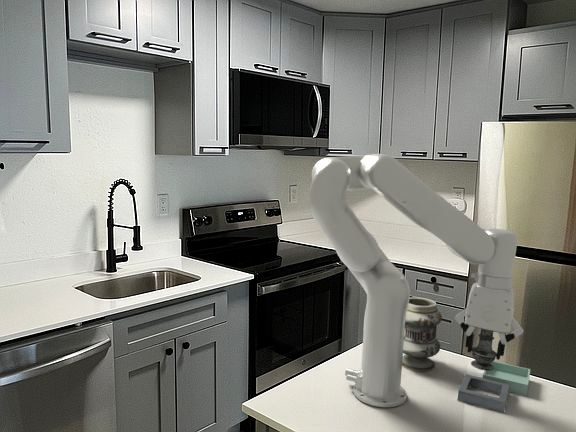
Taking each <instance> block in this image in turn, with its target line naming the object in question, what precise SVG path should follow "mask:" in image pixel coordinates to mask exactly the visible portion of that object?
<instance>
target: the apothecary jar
mask: <svg viewBox="0 0 576 432" xmlns="http://www.w3.org/2000/svg"><path fill="white" fill-rule="evenodd" d="M442 319H443V316H442V314H441V312H440V310H439V309H438V308H437V303H436V301H434V300H432V299H430V298H429V299H428V298H425V297H410V298H409V303H408V308H407V313H406V319H405V330H404V345H403V358H402V368H405V369H407V370H410V371H416V372H427V371H431V370H433V369H434V368H435V366H436V364H435V361H433V360H432V359H431V357H434V356H436V355H437V354H438V353H440V350H441V343H440V341H439V340H438V339H437V325H439V324H440V323H441V322H442Z"/></svg>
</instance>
